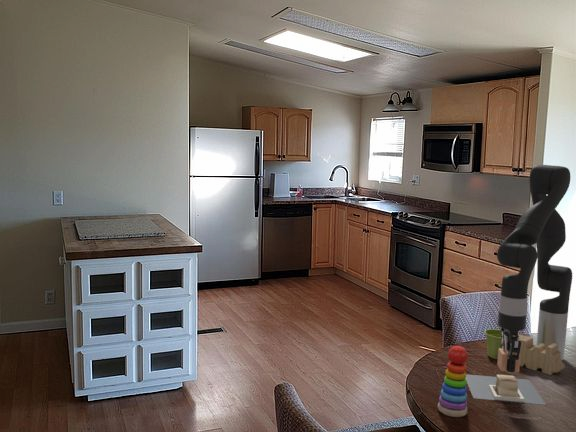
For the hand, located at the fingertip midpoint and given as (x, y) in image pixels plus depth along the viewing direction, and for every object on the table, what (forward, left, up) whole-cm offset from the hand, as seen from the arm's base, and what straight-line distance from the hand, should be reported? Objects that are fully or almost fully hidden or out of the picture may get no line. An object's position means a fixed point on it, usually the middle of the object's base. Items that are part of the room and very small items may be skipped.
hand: (508, 367), depth 163 cm
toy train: (-26, +15, -10) cm, 31 cm away
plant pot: (-36, +5, -10) cm, 37 cm away
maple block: (0, 0, -8) cm, 8 cm away
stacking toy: (+12, -17, -10) cm, 23 cm away
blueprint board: (-5, 0, -9) cm, 10 cm away
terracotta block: (0, 0, 0) cm, 0 cm away
